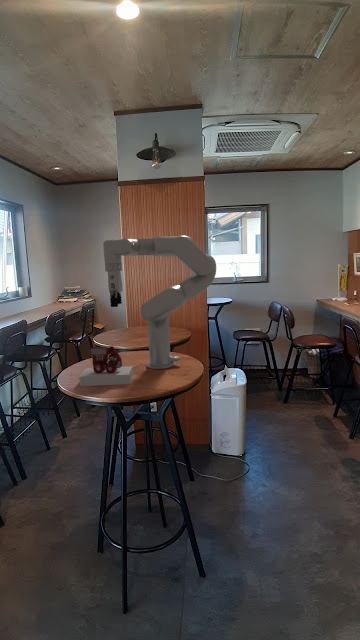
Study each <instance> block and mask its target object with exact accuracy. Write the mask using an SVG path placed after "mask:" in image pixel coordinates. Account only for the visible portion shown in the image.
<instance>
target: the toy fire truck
mask: <svg viewBox="0 0 360 640" xmlns="http://www.w3.org/2000/svg"><path fill="white" fill-rule="evenodd" d="M90 354H91V357H92V358H91V359H92V368H93V370H94V372H95V373H97V374H99V373H102V371H103V370H104V369H105V368H106V371H107V372H108V373H114V372H115V370H116V369H117V368H121V367H123V361H122V357H121V355H120V354H119V352H118V350H117V349H115V347H114V346H112V345H111V346H109V347H107V346H92V347H91V348H90Z"/></svg>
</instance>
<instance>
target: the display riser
mask: <svg viewBox="0 0 360 640" xmlns="http://www.w3.org/2000/svg"><path fill="white" fill-rule="evenodd" d="M133 377H134V368H133V365H131V366H129V365H128V366H122V367H121V368H117V369H116V370H115V372H114V373H108V372H107V371H106V368H105V369H104V370H103V371H102V373H99V374H97V373H95V372H94V370H93V367H86V368H85V369H84V370H83V371H82V373H80V375H79V376H78V380H79V387H94V386H96V387H97V386H115V385H116V386H118V385H119V386H120V385H130V384H131V381H132V379H133Z"/></svg>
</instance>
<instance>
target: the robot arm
mask: <svg viewBox="0 0 360 640" xmlns="http://www.w3.org/2000/svg"><path fill="white" fill-rule="evenodd" d="M102 244H103V245H102V247H103V259H104V261H103V262H104V271H105V272H107V283H108V284H107V287H108V292H109V297H110V298H109V301H110V307H111V308H118V307H119V305H122V304H123V303H122V292H123V289H124V287H123V282H122V281H123V280H122V274H121V273H122V272H121V271H123V264H122V256H125V257H130V256H131V257H132V256H155V257H177V258H179V260H180V261H181V262H182V263H184V264H185V266H187V267H188V268H189V270H191V271H192V272H193V274H191V275H189V276H187V278H185V279H183V280H182V281H180V282H178V283H177V284H175V285H171V286H169V287H166V288H165V289H163V290H162V291H160V292H159V293H157V294H156V295H154V296H153V297H151V298H149V299H148V300H146V301H145V302H143V304H142V305H141V307H140V315H141V317H142V319H144V320H145V321H147V335H148V336H147V337H148V351H149V361H148V362H147V363H146V367H147V368H148V369H153V370H163V369H165V370H166V369H169V368H172V367H173V366H174V365H175V362H181V357H180V356H173V355H172V353H171V344H170V342H171V341H170V325H169V324H170V314H171V313H173V312H174V311H176V310H177V309H180V308H181V307H182V306H183V305H184V304H186V303H187V302H188V301H190V300H191V299H193V298H195V297H196V296H198V295H200V294H201V293H202V292H203V291H205V290H207V288H209V287H210V286H211V285H212V283H213V282H214V280H215V278H216V274H217V263H216V260H215V258H214V257H213V256H212V255H211V254H206V253H204V251H202V250H201V249H200V248H199V247H198V246H197V245H196V243H195V241H194V239H193V238H192V237H190V236H188V235H178V236H177V235H176V236H175V235H173V236H169V235H168V236H167V235H166V236H156V237H153V238H152V237H151V238H121V239H105V240H104V241H103V242H102Z"/></svg>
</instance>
